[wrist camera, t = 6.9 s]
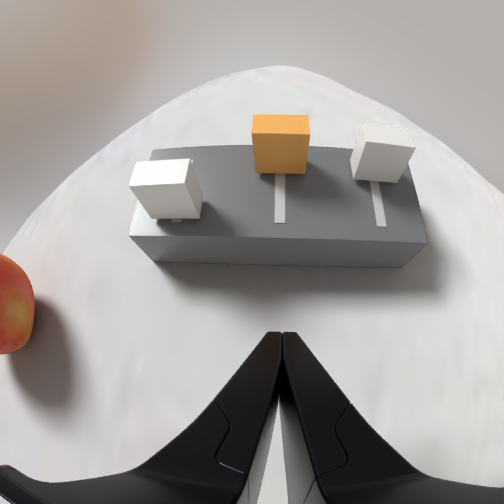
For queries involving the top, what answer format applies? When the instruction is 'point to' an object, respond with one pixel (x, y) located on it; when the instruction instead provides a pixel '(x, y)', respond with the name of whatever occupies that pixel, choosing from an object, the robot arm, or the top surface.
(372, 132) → the tab
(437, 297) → the top surface
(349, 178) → the grey cube slider board
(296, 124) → the tab
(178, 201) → the tab
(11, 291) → the apple
